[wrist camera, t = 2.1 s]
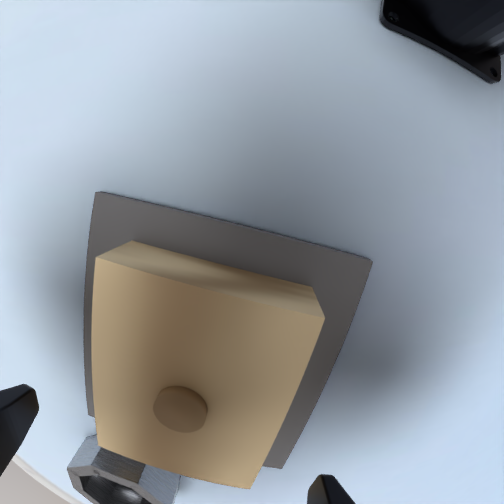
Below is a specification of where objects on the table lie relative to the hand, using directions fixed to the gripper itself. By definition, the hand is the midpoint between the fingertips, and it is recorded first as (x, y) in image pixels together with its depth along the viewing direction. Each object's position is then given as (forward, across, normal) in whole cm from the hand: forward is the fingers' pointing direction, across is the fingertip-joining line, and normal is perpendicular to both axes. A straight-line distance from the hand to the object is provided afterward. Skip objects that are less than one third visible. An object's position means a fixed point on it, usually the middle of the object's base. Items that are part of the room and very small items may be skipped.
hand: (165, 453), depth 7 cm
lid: (+5, 0, 0) cm, 5 cm away
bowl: (+6, +3, +11) cm, 12 cm away
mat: (+6, 0, 0) cm, 6 cm away
